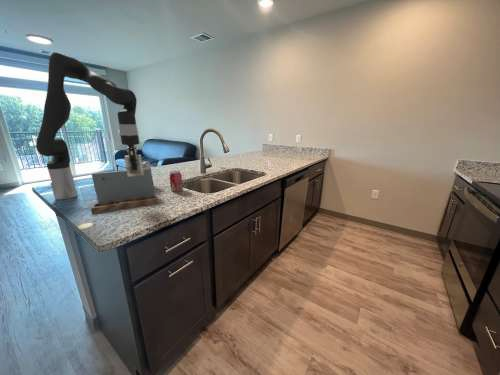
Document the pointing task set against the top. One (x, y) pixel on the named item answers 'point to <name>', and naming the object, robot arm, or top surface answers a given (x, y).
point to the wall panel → (122, 185)
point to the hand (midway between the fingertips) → (134, 169)
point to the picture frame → (129, 166)
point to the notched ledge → (123, 203)
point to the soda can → (176, 181)
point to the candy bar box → (147, 167)
